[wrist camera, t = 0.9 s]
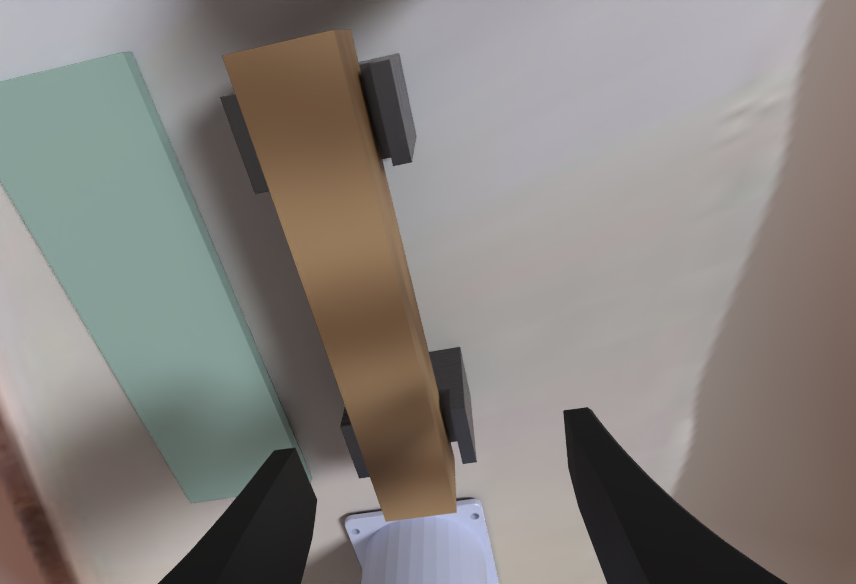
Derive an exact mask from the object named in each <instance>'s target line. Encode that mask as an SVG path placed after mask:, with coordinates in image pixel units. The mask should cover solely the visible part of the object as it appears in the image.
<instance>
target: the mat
mask: <svg viewBox="0 0 856 584" xmlns="http://www.w3.org/2000/svg"><path fill="white" fill-rule="evenodd" d="M0 182H1V183H2V185H3V187H4V188H5V190H6V192H7V193H8V195H9V197H10V198H11V200H12V202H13V204H14V205H15V207H16V209H17V210H18V212H19V214H20V215H21V217H22V219H23V220H24V222H25V224H26V226H27V227H28V229H29V231H30V232H31V234H32V236H33V237H34V239H35V241H36V242H37V244H38V246H39V248H40V249H41V251H42V253H43V254H44V256H45V258H46V259H47V261H48V263H49V264H50V266H51V268H52V270H53V271H54V273H55V275H56V276H57V278H58V280H59V281H60V283H61V285H62V286H63V288H64V290H65V292H66V293H67V295H68V297H69V298H70V300H71V302H72V303H73V305H74V307H75V308H76V310H77V312H78V314H79V315H80V317H81V319H82V320H83V322H84V324H85V325H86V327H87V329H88V330H89V332H90V334H91V336H92V337H93V339H94V341H95V342H96V344H97V346H98V347H99V349H100V351H101V352H102V354H103V356H104V358H105V359H106V361H107V363H108V364H109V366H110V368H111V369H112V371H113V373H114V374H115V376H116V378H117V380H118V381H119V383H120V385H121V386H122V388H123V390H124V391H125V393H126V395H127V396H128V398H129V400H130V402H131V403H132V405H133V407H134V408H135V410H136V412H137V413H138V415H139V417H140V418H141V420H142V422H143V424H144V425H145V427H146V429H147V430H148V432H149V434H150V435H151V437H152V439H153V441H154V442H155V444H156V446H157V447H158V449H159V451H160V452H161V454H162V456H163V457H164V459H165V461H166V463H167V464H168V466H169V468H170V469H171V471H172V473H173V474H174V476H175V478H176V479H177V481H178V483H179V485H180V486H181V488H182V490H183V491H184V493H185V495H186V496H187V498H188V500H189V501H190V503H196V502H204V501H211V500H218V499H225V498H232V497H237V496H238V495H239V494H240V492H241V491H242V490H243V489H244V487H245V486H246V485H247V484H248V482H249V481H250V480H251V479H252V477H253V476H254V475H255V474H256V472H257V471H258V470H259V468H260V467H261V466H262V465H263V463H264V462H265V461H266V460H267V458H268V457H269V456H270V455H271V453H272V452H273V451H274V450H280V449H287V448H295V447H296V450H297V452H298V455H299V457H300V460H301V462H302V464H303V467H304V469H305V472H306V474H307V477H308V479H309V481H310V484H311V480H312V477H311V474H310V472H309V470H308V467H307V465H306V463H305V460H304V458H303V456H302V453H301V451H300V449H299V446H298V444H297V441H296V439H295V437H294V434H293V432H292V430H291V427H290V425H289V423H288V420H287V418H286V415H285V413H284V411H283V408H282V406H281V404H280V401H279V399H278V397H277V394H276V392H275V389H274V387H273V385H272V382H271V380H270V378H269V375H268V373H267V371H266V368H265V366H264V363H263V361H262V359H261V356H260V354H259V352H258V349H257V347H256V345H255V342H254V340H253V337H252V335H251V333H250V330H249V328H248V326H247V323H246V321H245V319H244V316H243V314H242V311H241V309H240V307H239V304H238V302H237V300H236V297H235V295H234V293H233V290H232V288H231V285H230V283H229V281H228V278H227V276H226V274H225V271H224V269H223V267H222V264H221V262H220V259H219V257H218V255H217V252H216V250H215V248H214V245H213V243H212V241H211V238H210V236H209V233H208V231H207V229H206V226H205V224H204V222H203V219H202V217H201V215H200V212H199V210H198V207H197V205H196V203H195V200H194V198H193V196H192V193H191V191H190V189H189V186H188V184H187V181H186V179H185V177H184V174H183V172H182V170H181V167H180V165H179V163H178V160H177V158H176V155H175V153H174V151H173V148H172V146H171V144H170V141H169V139H168V137H167V134H166V132H165V129H164V127H163V125H162V122H161V120H160V118H159V115H158V113H157V111H156V108H155V106H154V104H153V101H152V99H151V96H150V94H149V92H148V89H147V87H146V85H145V82H144V80H143V78H142V75H141V73H140V70H139V68H138V66H137V63H136V61H135V59H134V56H133V54H132V52H122V53H118V54H114V55H109V56H105V57H101V58H97V59H93V60H88V61H84V62H80V63H76V64H72V65H68V66H63V67H59V68H55V69H51V70H47V71H42V72H38V73H34V74H30V75H26V76H21V77H17V78H13V79H9V80H5V81H1V82H0Z"/></svg>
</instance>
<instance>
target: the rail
mask: <svg viewBox="0 0 856 584" xmlns="http://www.w3.org/2000/svg"><path fill="white" fill-rule="evenodd" d="M222 57H223V60H224V63H225V66H226V68H227V71H228V74H229V77H230V80H231V83H232V85H233V88H234V91H235V94H236V97H237V100H238V103H239V105H240V108H241V111H242V114H243V117H244V120H245V122H246V125H247V128H248V131H249V134H250V137H251V140H252V142H253V145H254V148H255V151H256V154H257V157H258V159H259V162H260V165H261V168H262V171H263V174H264V177H265V179H266V182H267V185H268V188H269V191H270V194H271V196H272V199H273V202H274V205H275V208H276V211H277V214H278V216H279V219H280V222H281V225H282V228H283V231H284V233H285V236H286V239H287V242H288V245H289V248H290V251H291V253H292V256H293V259H294V262H295V265H296V268H297V270H298V273H299V276H300V279H301V282H302V285H303V288H304V290H305V293H306V296H307V299H308V302H309V305H310V307H311V310H312V313H313V316H314V319H315V322H316V325H317V327H318V330H319V333H320V336H321V339H322V342H323V344H324V347H325V350H326V353H327V356H328V359H329V362H330V364H331V367H332V370H333V373H334V376H335V379H336V381H337V384H338V387H339V390H340V393H341V396H342V399H343V401H344V404H345V407H346V410H347V413H348V416H349V418H350V421H351V424H352V427H353V430H354V433H355V436H356V438H357V441H358V444H359V447H360V450H361V453H362V455H363V458H364V461H365V464H366V467H367V470H368V473H369V475H370V478H371V481H372V484H373V487H374V490H375V492H376V495H377V498H378V501H379V504H380V507H381V510H382V512H383V515H384V518H385V521H386V522H389V521H397V520H404V519H412V518H420V517H428V516H435V515H443V514H451V513H457V506H456V484H455V461H454V455H453V450H452V446H451V442H450V438H449V434H448V430H447V426H446V422H445V417H444V413H443V409H442V405H441V401H440V397H439V393H438V389H437V384H436V380H435V376H434V372H433V368H432V364H431V360H430V356H429V351H428V347H427V343H426V339H425V335H424V331H423V327H422V323H421V318H420V314H419V310H418V306H417V302H416V298H415V294H414V289H413V285H412V281H411V277H410V273H409V269H408V265H407V261H406V256H405V252H404V248H403V244H402V240H401V236H400V232H399V228H398V223H397V219H396V215H395V211H394V207H393V203H392V199H391V195H390V190H389V186H388V182H387V178H386V174H385V170H384V166H383V161H382V157H381V153H380V149H379V145H378V141H377V137H376V133H375V128H374V124H373V120H372V116H371V112H370V108H369V104H368V100H367V95H366V91H365V87H364V83H363V79H362V75H361V71H360V67H359V62H358V58H357V54H356V50H355V46H354V42H353V38H352V34H351V30H330V31H326V32H321V33H317V34H313V35H308V36H304V37H300V38H296V39H291V40H287V41H283V42H278V43H274V44H270V45H266V46H261V47H257V48H253V49H248V50H244V51H240V52H236V53H231V54H227V55H223V56H222Z"/></svg>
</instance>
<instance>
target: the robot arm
mask: <svg viewBox="0 0 856 584" xmlns="http://www.w3.org/2000/svg"><path fill="white" fill-rule="evenodd" d="M563 412H564V423H565V435H566V446H567V457H568V468H569V472H570V476H571V480H572V484H573V488H574V492H575V495H576V499H577V503H578V507H579V509H580V512H581V515H582V517H583V520H584V523H585V526H586V528H587V531H588V534H589V536H590V539H591V542H592V544H593V547H594V549H595V552H596V555H597V557H598V560H599V563H600V565H601V568H602V571H603V573H604V576H605V579H606V581H607V584H787V583H786V582H784V581H782V580H781V579H779V578H778V577H776V576H775V575H773V574H771V573H770V572H768V571H767V570H766V569H764V568H763V567H761V566H760V565H758V564H757V563H755V562H754V561H753V560H751V559H750V558H748V557H747V556H745V555H744V554H743V553H741V552H740V551H738V550H737V549H735V548H734V547H732V546H731V545H730V544H728V543H727V542H725V541H724V540H723V539H721V538H720V537H719V536H718V535H716V534H715V533H714V532H712V531H711V530H710V529H709V528H707V527H706V526H705V525H703V524H702V523H701V522H700V521H699V520H697V519H696V518H695V517H694V516H692V515H691V514H690V513H689V512H688V511H686V510H685V509H684V508H683V507H682V506H681V505H679V504H678V503H677V502H676V501H675V500H674V499H673V498H672V497H671V496H669V495H668V494H667V493H666V492H665V491H664V490H663V489H662V488H661V487H660V486H659V485H658V484H657V483H656V482H655V481H653V480H652V479H651V478H650V477H649V476H648V475H647V474H646V473H645V472H644V471H643V470H642V468H641V467H640V466H639V465H638V464H637V463H636V462H635V461H634V460H633V459H632V458H631V457H630V456H629V455H628V454H627V453H626V452H625V450H624V449H623V448H622V447H621V446H620V445H619V444H618V443H617V441H616V440H615V439H614V438H613V437H612V436H611V434H610V433H609V432H608V431H607V430H606V428H605V427H604V426H603V425H602V423H601V422H600V421H599V419H598V418H597V417H596V415H595V414H594V413H593V411H592V410H591V409H589V408H588V407H586V408H579V409H572V410H564V411H563ZM316 505H317V498H316V496H315V493H314V491H313V489H312V486H311V484H310V481H309V479H308V477H307V474H306V472H305V469H304V467H303V464H302V462H301V460H300V457H299V455H298V452H297V450H296V447H295V448H287V449H280V450H274V451H273V452H272V453H271V455H270V456H269V457H268V458H267V460H266V461H265V462H264V463H263V465H262V466H261V467H260V468H259V470H258V471H257V472H256V474H255V475H254V476H253V477H252V479H251V480H250V481H249V482H248V484H247V485H246V486H245V487H244V489H243V490H242V491H241V492H240V494H239V495H238V496H237V497H236V499H235V500H234V501H233V502H232V504H231V505H230V506H229V507H228V508H227V510H226V511H225V512H224V513H223V515H222V516H221V517H220V518H219V519H218V520H217V521H216V523H215V524H214V525H213V526H212V527H211V528H210V529H209V531H208V532H207V533H206V534H205V535H204V536H203V537H202V538H201V540H200V541H199V542H198V543H197V544H196V545H195V546H194V548H193V549H192V550H191V551H190V552H189V553H188V554H187V555H186V556H185V557H184V558H183V559H182V560H181V561H180V562H179V563H178V564H177V565H176V566H175V567H174V568H173V569H172V570H171V571H170V572H169V573H168V574H167V575H166V576H165V577H164V578H163V579H162V580H161V581H160V582H159V583H158V584H301V581H302V577H303V573H304V569H305V565H306V561H307V557H308V553H309V549H310V545H311V541H312V536H313V529H314V522H315V514H316ZM456 506H457V513H451V514H443V515H435V516H428V517H420V518H412V519H404V520H397V521H389V522H386V521H385V518H384V515H383V512H382V511H378V512H370V513H362V514H355V515H350V516H348V517H346V519H345V528H346V531H347V533H348V535H349V538H350V540H351V543H352V545H353V548H354V550H355V553H356V555H357V558H358V560H359V562H360V565H361V567H362V570H363V571H362V579H361V584H499V580H498V576H497V571H496V567H495V562H494V558H493V553H492V549H491V544H490V540H489V535H488V531H487V526H486V522H485V517H484V513H483V508H482V504H481V502H480V501H479V500H476V499H469V500H461V501H456ZM473 513H476V514H473Z"/></svg>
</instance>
